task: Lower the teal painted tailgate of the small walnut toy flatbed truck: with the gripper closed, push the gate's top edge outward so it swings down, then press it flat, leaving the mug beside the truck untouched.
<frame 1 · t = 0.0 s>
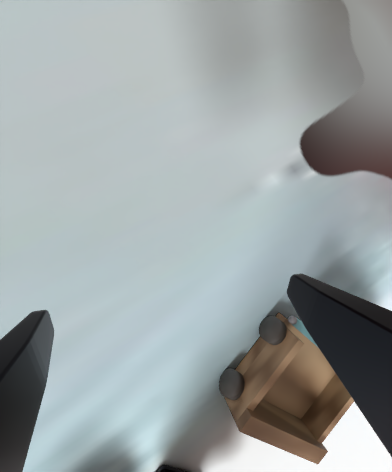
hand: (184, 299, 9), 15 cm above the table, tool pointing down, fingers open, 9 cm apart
tailgate: (345, 360, 28), point 5 cm above the table, hinge at 0.0°
truck bed: (284, 371, 32), on the table
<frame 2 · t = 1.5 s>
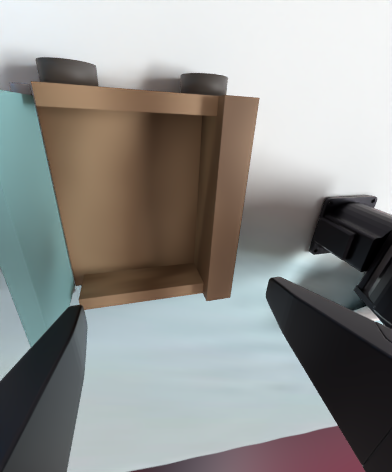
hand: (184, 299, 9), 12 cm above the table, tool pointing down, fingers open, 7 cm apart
tailgate: (35, 226, 13), point 5 cm above the table, hinge at 0.0°
truck bed: (144, 195, 19), on the table
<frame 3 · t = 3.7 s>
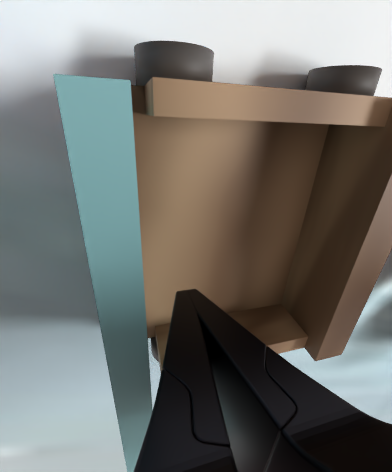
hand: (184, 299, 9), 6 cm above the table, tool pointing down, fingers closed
tailgate: (128, 289, 9), point 5 cm above the table, hinge at 0.7°, touching gripper
truck bed: (231, 224, 15), on the table
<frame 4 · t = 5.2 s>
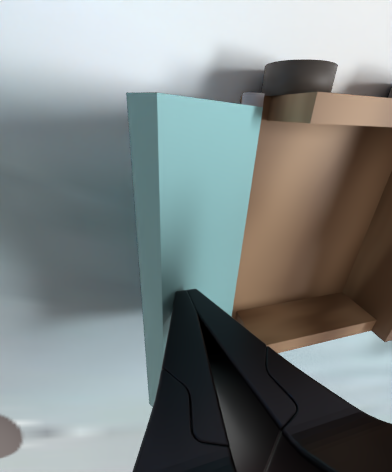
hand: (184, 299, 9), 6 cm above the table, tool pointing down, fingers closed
tailgate: (204, 264, 11), point 4 cm above the table, hinge at 50.7°, touching gripper
truck bed: (306, 218, 17), on the table
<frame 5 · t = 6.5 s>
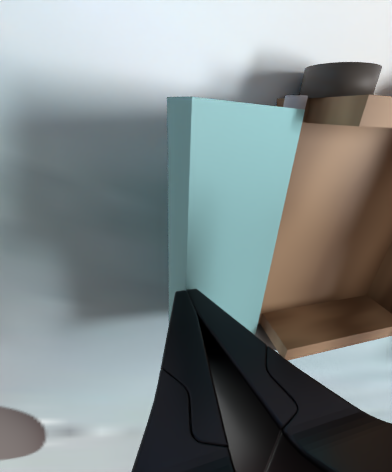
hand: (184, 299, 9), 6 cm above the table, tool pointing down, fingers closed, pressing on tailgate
tailgate: (232, 261, 11), point 4 cm above the table, hinge at 61.2°, touching gripper
truck bed: (333, 220, 17), on the table
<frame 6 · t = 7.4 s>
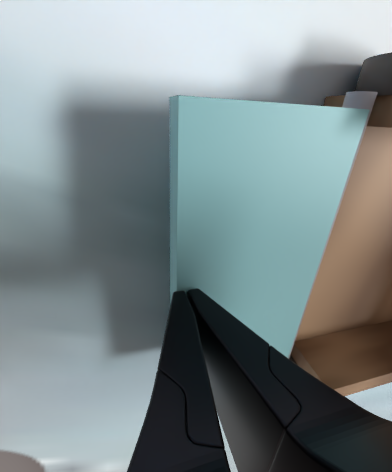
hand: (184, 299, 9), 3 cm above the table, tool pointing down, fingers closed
tailgate: (251, 277, 10), point 2 cm above the table, hinge at 86.5°, touching gripper
truck bed: (374, 236, 15), on the table
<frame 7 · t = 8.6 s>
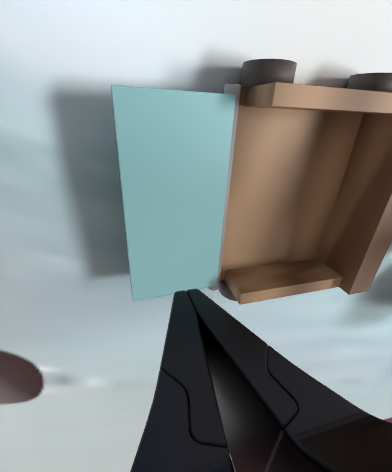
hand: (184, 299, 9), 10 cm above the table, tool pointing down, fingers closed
tailgate: (179, 208, 15), point 2 cm above the table, hinge at 86.8°
truck bed: (284, 192, 20), on the table
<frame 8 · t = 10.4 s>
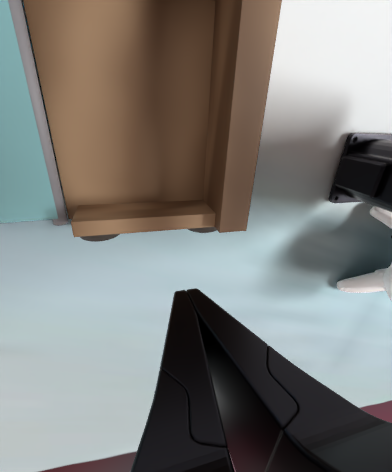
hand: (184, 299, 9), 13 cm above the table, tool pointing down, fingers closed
truck bed: (147, 113, 17), on the table
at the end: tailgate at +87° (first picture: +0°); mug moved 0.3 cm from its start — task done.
